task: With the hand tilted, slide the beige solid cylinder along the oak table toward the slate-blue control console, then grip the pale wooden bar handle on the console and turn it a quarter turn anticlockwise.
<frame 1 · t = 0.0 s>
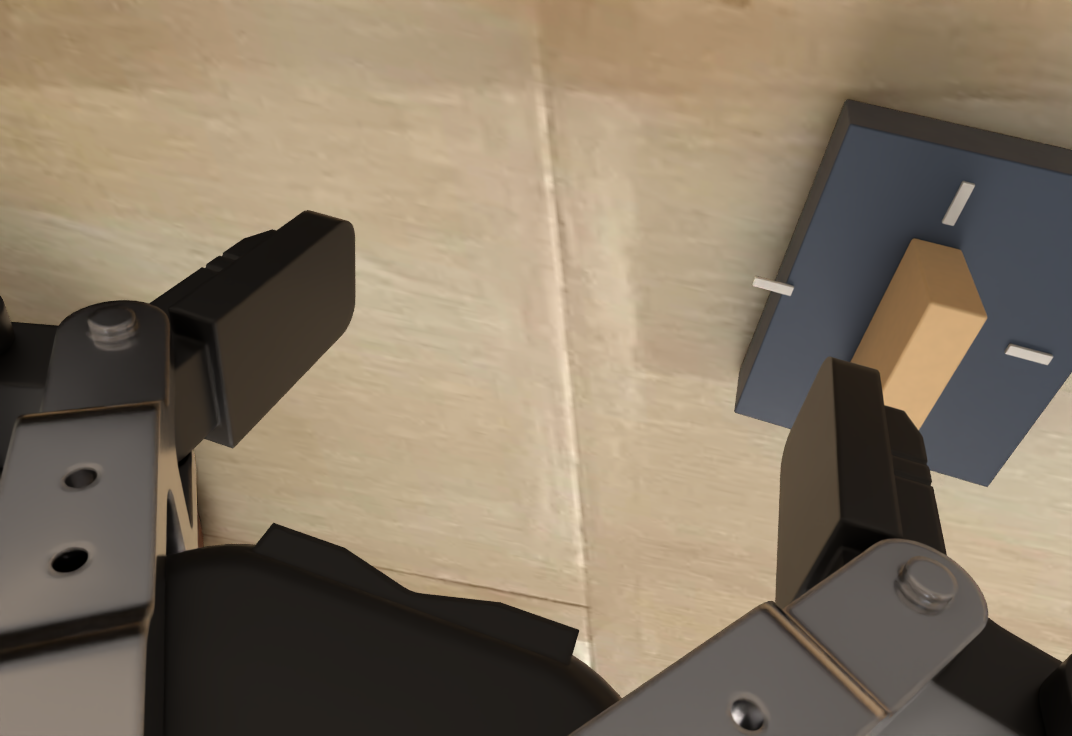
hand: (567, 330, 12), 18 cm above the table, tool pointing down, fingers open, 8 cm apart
console: (916, 286, 28), on the table
wooden handle: (904, 354, 24), point 5 cm above the table, hinge at 0.0°
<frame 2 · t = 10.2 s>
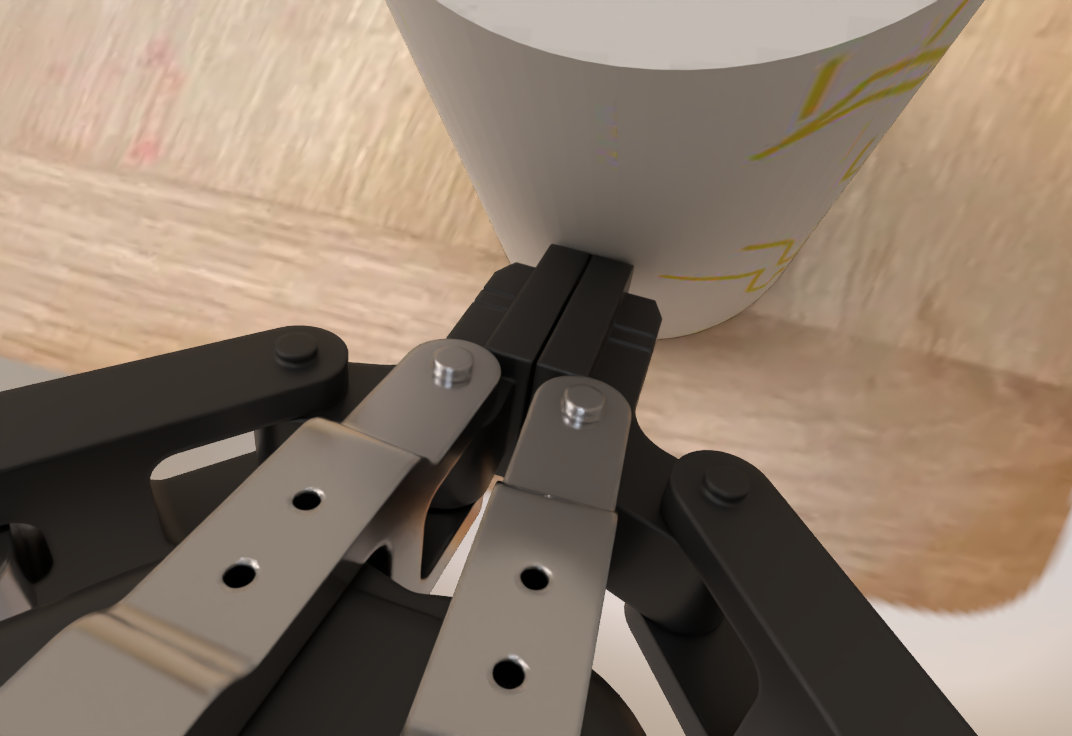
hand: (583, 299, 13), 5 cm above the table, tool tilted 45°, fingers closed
beige solid cylinder: (647, 188, 19), on the table, touching gripper
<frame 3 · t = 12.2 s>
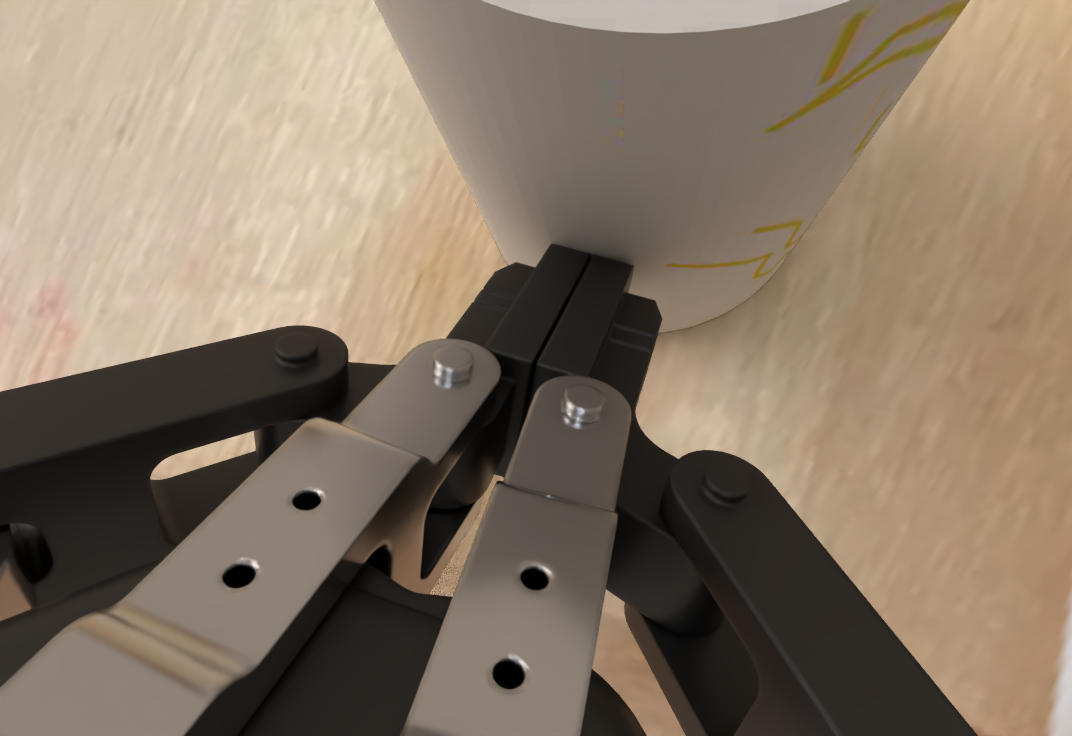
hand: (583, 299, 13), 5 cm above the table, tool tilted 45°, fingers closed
beige solid cylinder: (642, 178, 19), on the table, touching gripper
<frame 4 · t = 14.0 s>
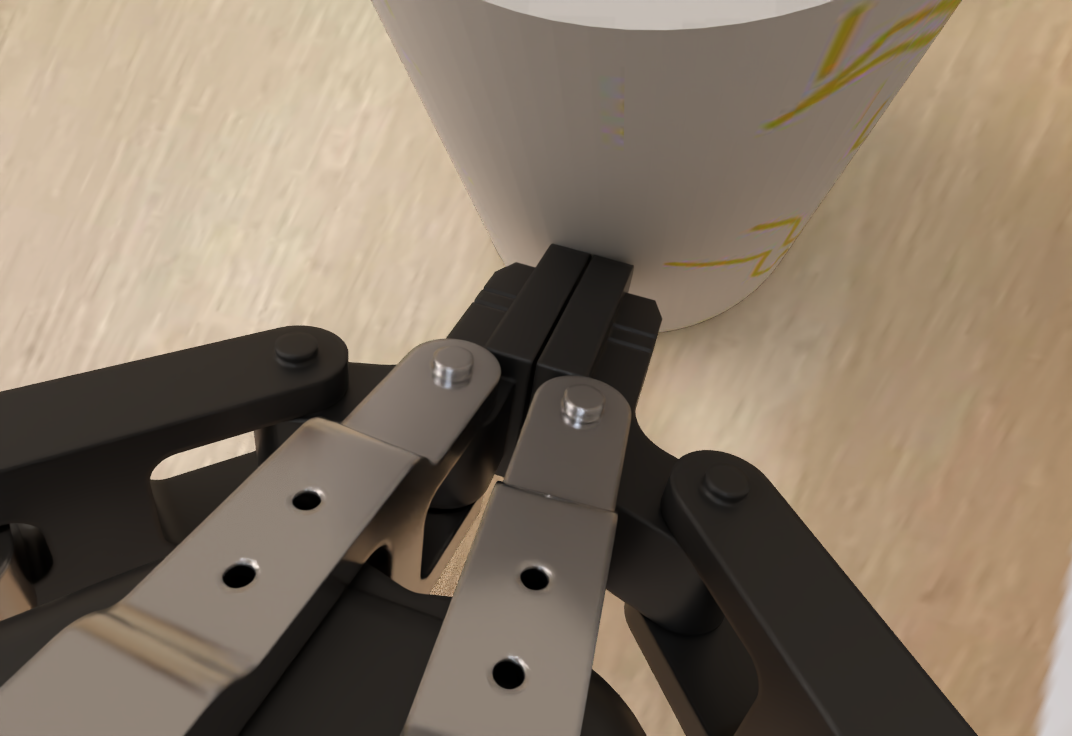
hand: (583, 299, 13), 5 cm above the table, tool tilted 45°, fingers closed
beige solid cylinder: (639, 178, 19), on the table, touching gripper
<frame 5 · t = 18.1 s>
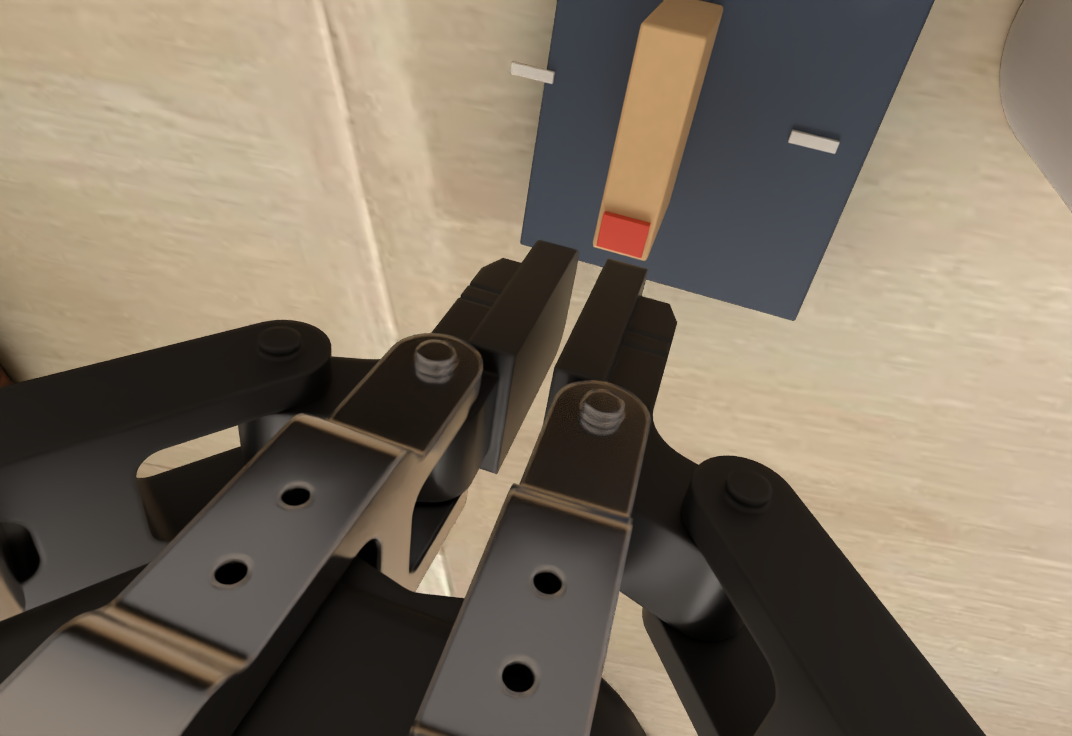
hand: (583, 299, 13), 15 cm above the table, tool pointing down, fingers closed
console: (711, 88, 25), on the table
wooden handle: (656, 128, 21), point 5 cm above the table, hinge at 0.0°
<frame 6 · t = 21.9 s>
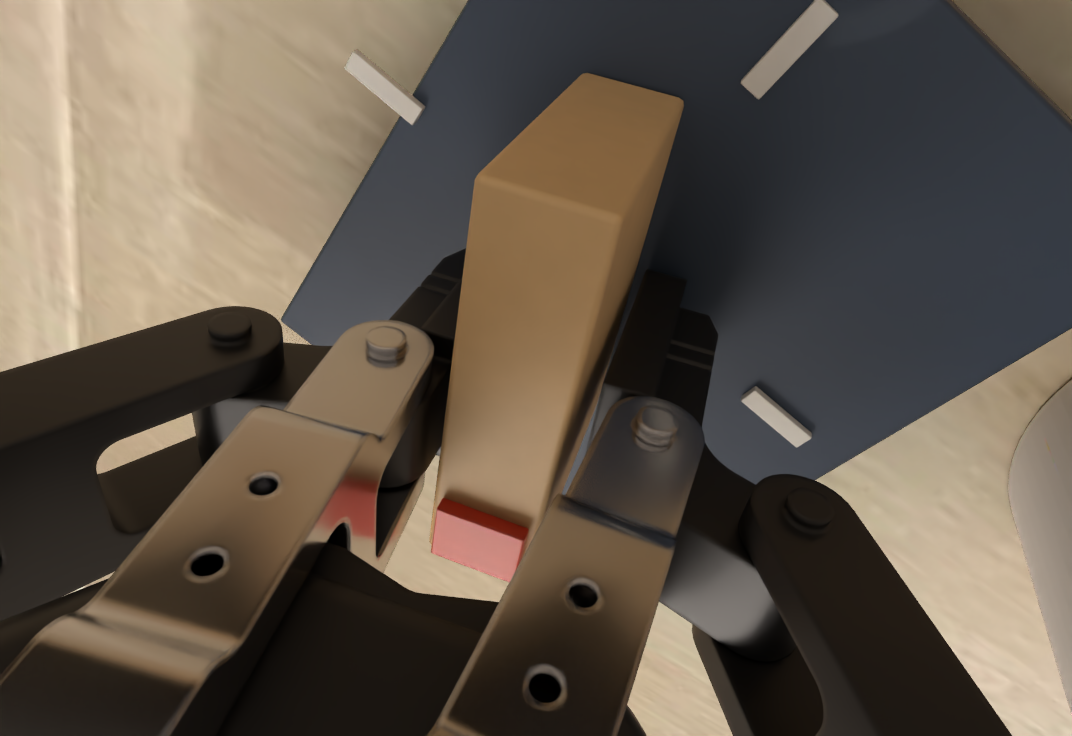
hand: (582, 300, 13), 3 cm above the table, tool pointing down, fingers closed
console: (663, 226, 15), on the table
wooden handle: (552, 329, 11), point 5 cm above the table, hinge at 26.0°, touching gripper
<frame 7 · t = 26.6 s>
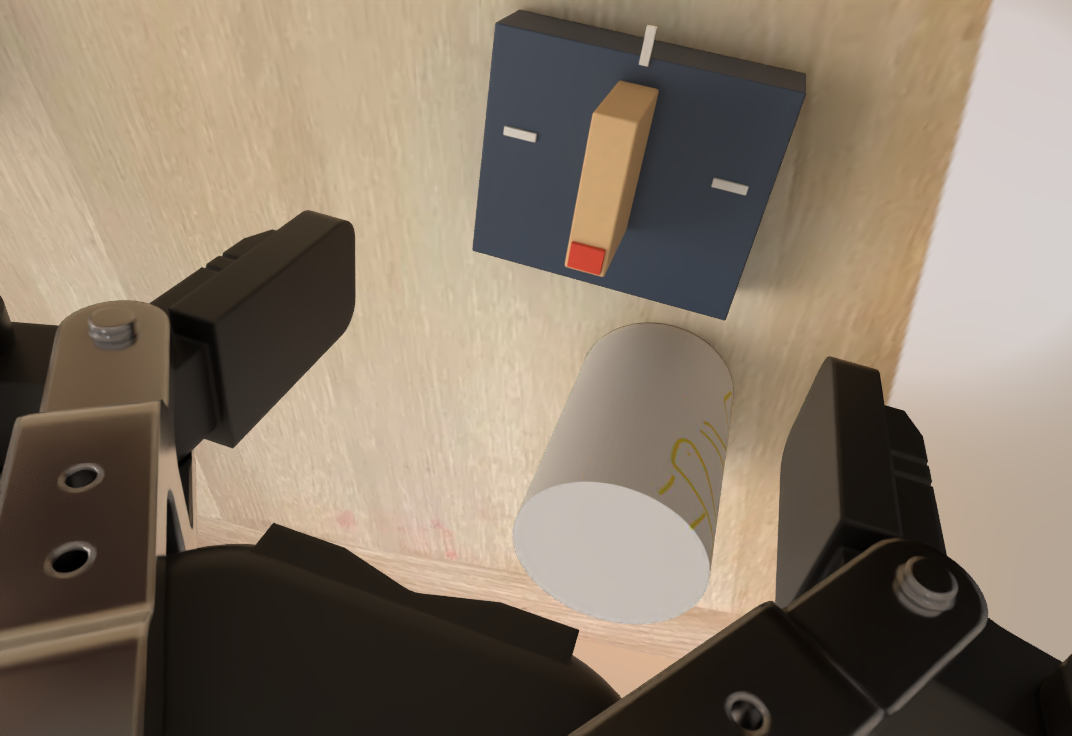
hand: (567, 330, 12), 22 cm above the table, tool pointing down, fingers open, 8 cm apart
console: (631, 158, 33), on the table
wooden handle: (610, 179, 28), point 5 cm above the table, hinge at 90.2°
beige solid cylinder: (655, 387, 40), on the table
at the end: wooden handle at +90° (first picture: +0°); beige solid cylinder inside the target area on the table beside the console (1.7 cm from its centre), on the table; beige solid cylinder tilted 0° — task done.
